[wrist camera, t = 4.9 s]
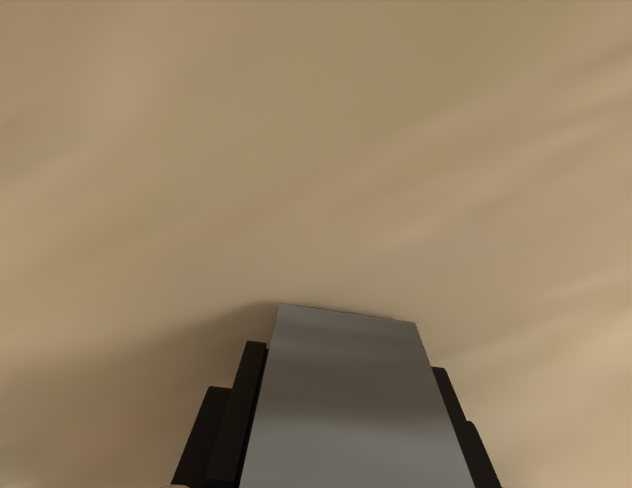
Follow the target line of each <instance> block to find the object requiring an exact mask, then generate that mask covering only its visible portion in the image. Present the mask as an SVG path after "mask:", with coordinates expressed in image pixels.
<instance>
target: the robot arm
mask: <svg viewBox="0 0 632 488" xmlns="http://www.w3.org/2000/svg"><path fill="white" fill-rule="evenodd" d="M266 346H267V343H261V342H254V341H247V343H246V346H245V349H244V352H243V355H242V358H241V362H240V365H239V368H238V371H237V375H236V378H235V381H234V384H233V387H232V389H229V388H222V387H214V386H210V387H209V388H208V390H207V392H206V395H205V397H204V400H203V403H202V405H201V408H200V410H199V413H198V415H197V418H196V421H195V423H194V426H193V428H192V431H191V433H190V436H189V439H188V441H187V444H186V446H185V449H184V451H183V454H182V456H181V459H180V462H179V464H178V467H177V469H176V472H175V474H174V477H173V480H172V482H171V485H169V486H163V487H161V488H239V486H240V481H241V476H242V472H243V467H244V463H245V458H246V454H247V449H248V444H249V440H250V435H251V431H252V426H253V421H254V417H255V412H256V408H257V403H258V398H259V394H260V389H261V385H262V380H263V375H264V371H265V366H266V362H267V357H268V353H269V349H266ZM431 368H432V371H433V374H434V377H435V379H436V382H437V385H438V387H439V390H440V393H441V396H442V398H443V401H444V404H445V407H446V409H447V412H448V415H449V418H450V420H451V423H452V426H453V429H454V431H455V434H456V437H457V440H458V442H459V445H460V448H461V450H462V453H463V456H464V459H465V461H466V464H467V467H468V470H469V472H470V475H471V478H472V481H473V483H474V486H475V488H502V487H501V485H500V482H499V480H498V478H497V475H496V473H495V471H494V468H493V466H492V464H491V461H490V459H489V457H488V454H487V452H486V450H485V447H484V445H483V443H482V440H481V438H480V436H479V433H478V431H477V429H476V427H475V426H474V424H473V423H472V422H471V421H466V418H465V416H464V413H463V411H462V408H461V406H460V404H459V401H458V399H457V396H456V394H455V391H454V389H453V387H452V384H451V382H450V379H449V377H448V374H447V372H446V370H445V369H444V368H440V367H432V366H431Z"/></svg>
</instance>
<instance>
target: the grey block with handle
mask: <svg viewBox="0 0 632 488" xmlns="http://www.w3.org/2000/svg"><path fill="white" fill-rule="evenodd" d="M239 488H475V486H474V483H473V481H472V478H471V475H470V472H469V470H468V467H467V464H466V461H465V459H464V456H463V453H462V450H461V448H460V445H459V442H458V440H457V437H456V434H455V431H454V429H453V426H452V423H451V420H450V418H449V415H448V412H447V409H446V407H445V404H444V401H443V398H442V396H441V393H440V390H439V387H438V385H437V382H436V379H435V377H434V374H433V371H432V368H431V366H430V363H429V360H428V357H427V355H426V352H425V349H424V346H423V344H422V341H421V338H420V335H419V333H418V330H417V327H416V324H415V323H413V322H406V321H399V320H392V319H385V318H378V317H371V316H364V315H357V314H350V313H343V312H336V311H329V310H322V309H315V308H308V307H301V306H294V305H287V304H281V303H279V307H278V311H277V316H276V320H275V325H274V330H273V334H272V339H271V343H270V348H269V353H268V357H267V362H266V366H265V371H264V375H263V380H262V385H261V389H260V394H259V398H258V403H257V408H256V412H255V417H254V421H253V426H252V431H251V435H250V440H249V444H248V449H247V454H246V458H245V463H244V467H243V472H242V476H241V481H240V486H239Z"/></svg>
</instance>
